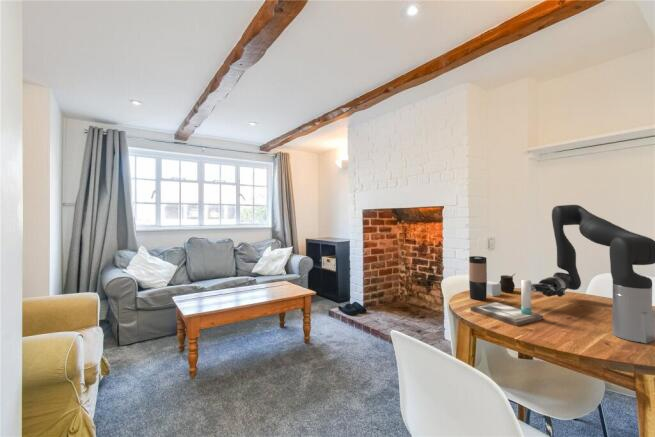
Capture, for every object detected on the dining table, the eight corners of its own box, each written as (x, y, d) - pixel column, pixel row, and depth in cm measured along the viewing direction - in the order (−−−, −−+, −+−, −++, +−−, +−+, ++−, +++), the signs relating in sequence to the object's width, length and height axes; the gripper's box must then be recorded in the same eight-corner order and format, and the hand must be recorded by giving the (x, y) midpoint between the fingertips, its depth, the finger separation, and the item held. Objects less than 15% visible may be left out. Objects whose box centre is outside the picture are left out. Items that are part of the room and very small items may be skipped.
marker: (533, 313, 119) (533, 281, 119) (527, 315, 118) (527, 282, 118) (524, 311, 122) (524, 279, 122) (519, 312, 121) (518, 280, 121)
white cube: (500, 295, 152) (500, 283, 152) (492, 296, 150) (492, 284, 150) (490, 292, 158) (490, 280, 158) (481, 293, 156) (481, 282, 156)
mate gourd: (499, 289, 164) (499, 270, 164) (516, 290, 160) (516, 272, 160) (497, 291, 158) (497, 272, 158) (514, 294, 154) (514, 274, 154)
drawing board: (543, 319, 118) (543, 314, 118) (516, 326, 112) (516, 321, 112) (496, 305, 136) (496, 301, 136) (470, 310, 130) (470, 306, 130)
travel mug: (488, 298, 147) (488, 257, 147) (484, 301, 142) (483, 259, 141) (472, 295, 153) (472, 255, 152) (467, 298, 147) (466, 257, 147)
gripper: (533, 274, 140) (517, 279, 131) (571, 280, 128) (556, 286, 119) (533, 291, 140) (517, 297, 131) (571, 298, 128) (556, 305, 119)
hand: (535, 291), depth 125 cm, fingers open, 8 cm apart
